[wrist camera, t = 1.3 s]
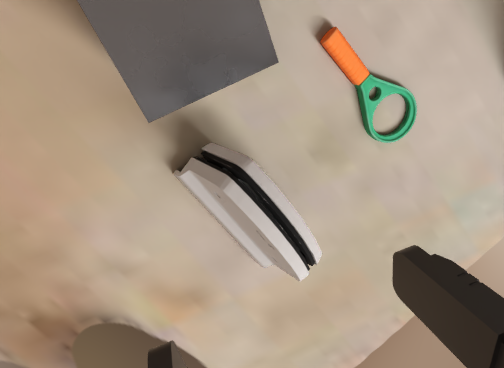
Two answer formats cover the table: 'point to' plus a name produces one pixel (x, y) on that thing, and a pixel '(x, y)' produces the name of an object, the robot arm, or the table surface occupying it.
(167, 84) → the box
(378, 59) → the table surface
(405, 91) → the magnifying glass
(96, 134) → the table surface
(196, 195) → the white piece
